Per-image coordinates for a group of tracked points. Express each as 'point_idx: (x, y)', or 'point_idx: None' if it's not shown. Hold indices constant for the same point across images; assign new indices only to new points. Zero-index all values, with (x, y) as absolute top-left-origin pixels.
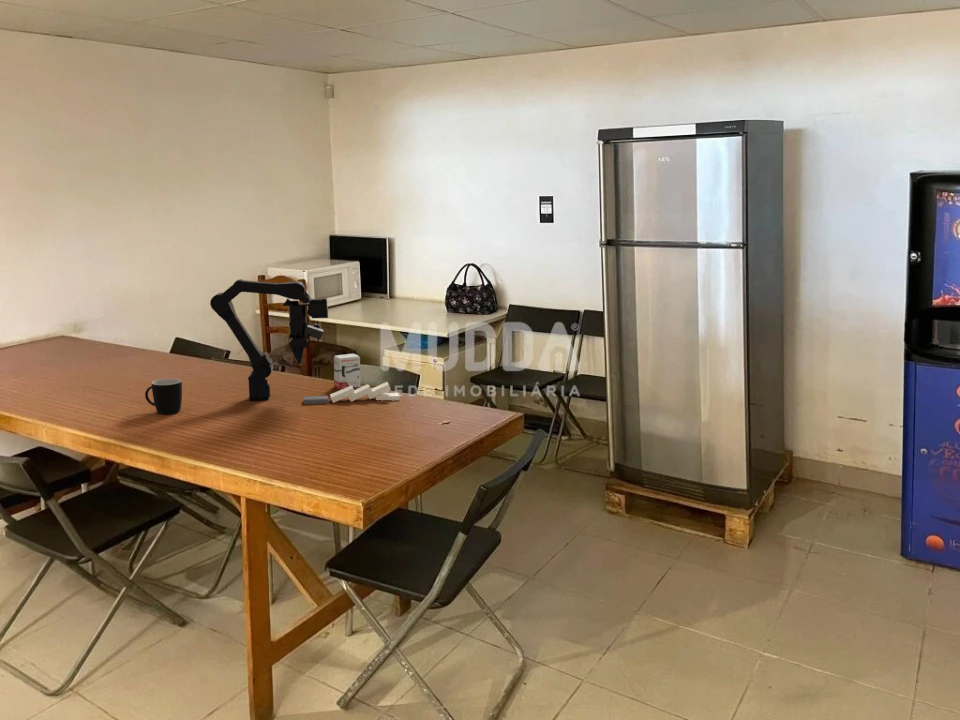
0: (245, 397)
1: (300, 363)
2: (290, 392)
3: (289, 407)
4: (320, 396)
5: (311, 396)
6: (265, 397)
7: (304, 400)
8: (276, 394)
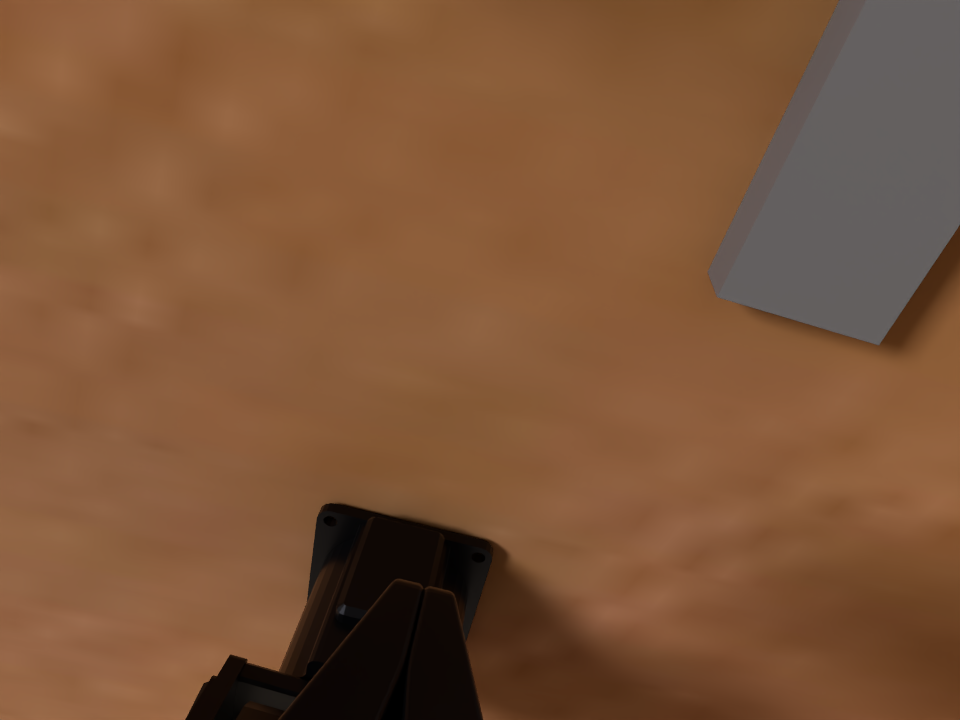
0: None
1: (454, 596)
2: (239, 299)
3: (879, 469)
4: (857, 86)
5: (773, 211)
6: (450, 563)
7: (879, 332)
8: (292, 434)
